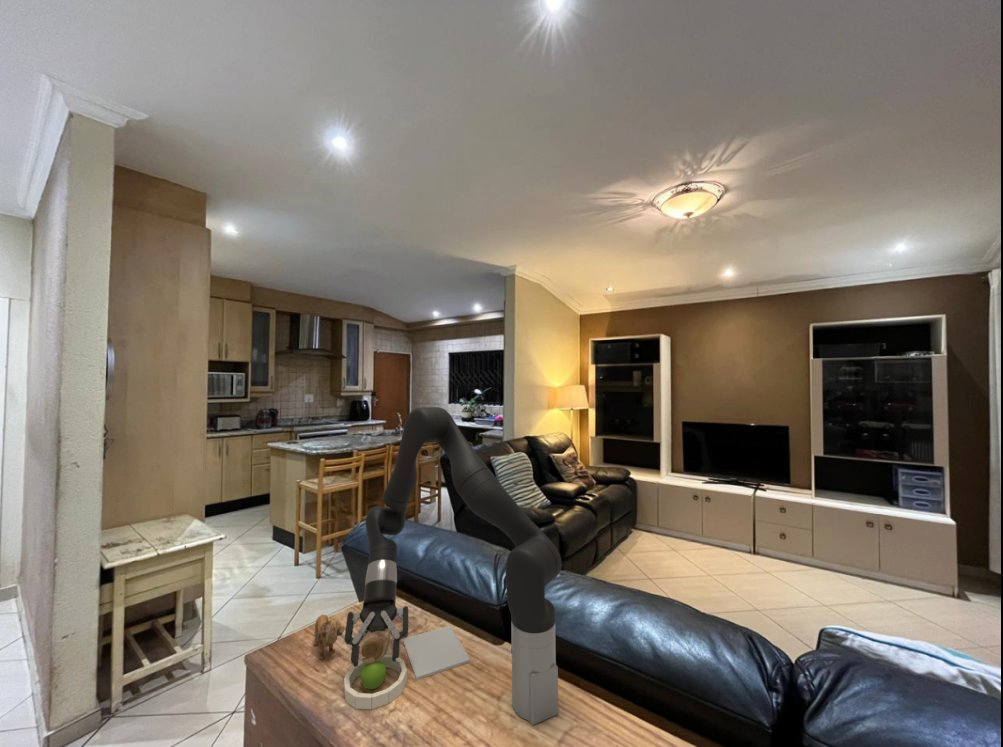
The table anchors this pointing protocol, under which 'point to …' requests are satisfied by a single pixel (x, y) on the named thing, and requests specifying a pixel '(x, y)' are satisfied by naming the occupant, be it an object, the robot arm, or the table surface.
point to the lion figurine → (326, 633)
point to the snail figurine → (374, 661)
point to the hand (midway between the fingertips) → (375, 663)
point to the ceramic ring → (379, 697)
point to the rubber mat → (435, 652)
